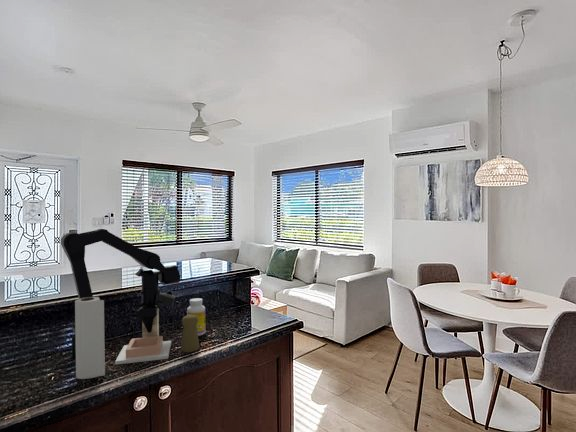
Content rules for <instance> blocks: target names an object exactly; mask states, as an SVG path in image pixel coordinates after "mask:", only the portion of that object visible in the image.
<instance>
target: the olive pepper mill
mask: <svg viewBox="0 0 576 432" xmlns="http://www.w3.org/2000/svg"><path fill="white" fill-rule="evenodd" d="M197 323H198V318H197V316H196V315H187V314H186V315H184V316H183V317H182V319H181V324H182V326H183V330H182V339H181V345H180V347H181V348H180V351H182V352H183V353H192V352H196V351H198V350H200V341H199V340H200V339H199V336H198V333H197V326H196V325H197Z"/></svg>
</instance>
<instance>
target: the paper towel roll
mask: <svg viewBox="0 0 576 432" xmlns="http://www.w3.org/2000/svg"><path fill="white" fill-rule="evenodd" d="M104 316H105V299H100V297H98V296H93V297H87V298H81V299H79V298H77V299H75V301H74V319H75V320H74V325H75V333H74V335H75V337H76V358H75V377H76V379H78V380H86V379H93V378H98V377H102V376H106V362H105V360H106V358H105V356H106V355H105V354H106V353H105V351H106V350H105V318H104Z"/></svg>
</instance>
